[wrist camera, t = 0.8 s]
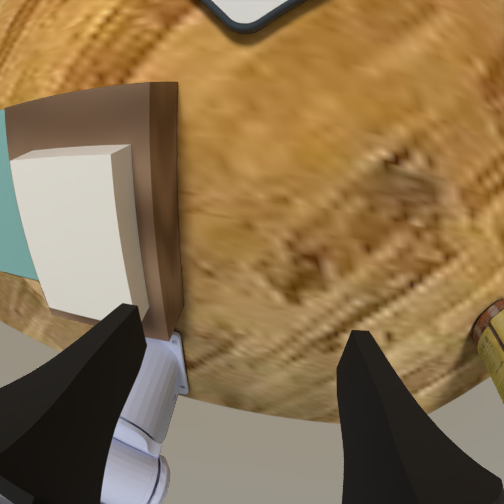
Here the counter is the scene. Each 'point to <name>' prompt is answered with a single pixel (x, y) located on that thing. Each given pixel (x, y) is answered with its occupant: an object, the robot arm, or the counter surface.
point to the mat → (11, 219)
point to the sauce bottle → (492, 342)
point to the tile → (82, 227)
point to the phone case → (249, 12)
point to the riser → (143, 166)
